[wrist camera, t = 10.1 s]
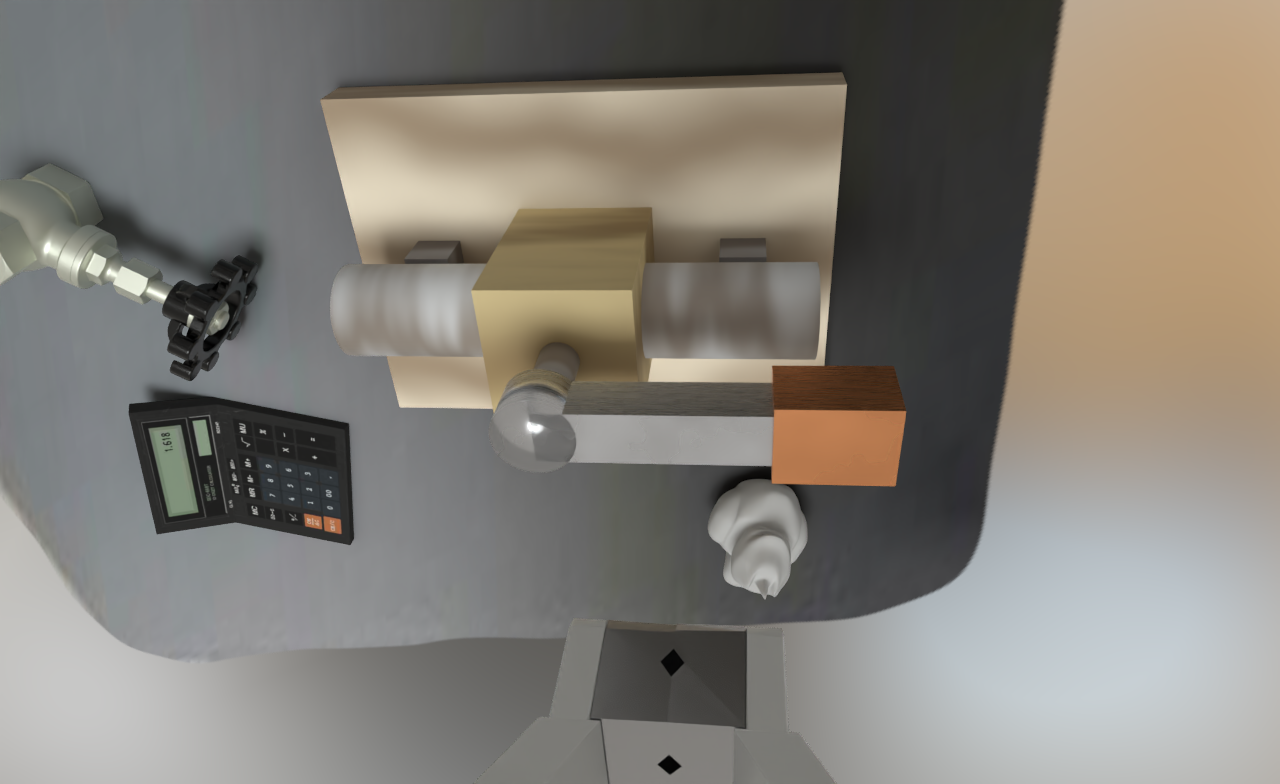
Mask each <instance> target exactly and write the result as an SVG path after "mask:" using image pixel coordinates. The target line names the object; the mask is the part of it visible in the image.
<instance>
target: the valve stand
mask: <svg viewBox="0 0 1280 784" xmlns="http://www.w3.org/2000/svg"><path fill="white" fill-rule="evenodd" d="M846 91H847V83H846V81H845V78H844V76H843V73H842V72H839V73H806V74H773V75H740V76H707V77H674V78H640V79H607V80H574V81H541V82H508V83H475V84H442V85H408V86H375V87H342V88H337V89H336V90H334V91H333V92H331V93H330V94H328V95H327V96H325V97H324V98H322V99H320V101H321V105H322V109H323V112H324V116H325V120H326V124H327V128H328V132H329V136H330V139H331V143H332V147H333V151H334V155H335V159H336V163H337V166H338V170H339V174H340V178H341V182H342V186H343V190H344V193H345V197H346V201H347V205H348V209H349V213H350V217H351V221H352V224H353V228H354V232H355V236H356V240H357V244H358V248H359V251H360V255H361V259H362V263H363V264H347V265H345V266H343V267H342V268H341V269H340V270H339V272H338V273H337V275H336V277H335V280H334V283H333V286H332V291H331V300H330V314H331V323H332V328H333V332H334V335H335V338H336V340H337V343H338V344H339V346H340V348H341V349H342V350H343V351H344V352H345V353H346V354H347V355H350V356H387V359H388V363H389V367H390V371H391V375H392V379H393V383H394V386H395V390H396V394H397V398H398V402H399V406H400V407H420V408H484V409H493V412H495V410H496V408H497V405H498V403H499V401H500V398H501V396H502V394H503V391H504V389H505V387H506V385H507V383H508V382H509V381H510V380H511V379H512V378H513V377H514V376H515V375H517V374H519V373H521V372H523V371H527V370H531V369H546V370H551V371H555V372H557V373H560V374H562V375H564V376H566V377H567V378H568V379H570V380H571V381H612V382H740V383H772V366H824V361H825V349H826V337H827V324H828V312H829V300H830V287H831V275H832V263H833V251H834V238H835V226H836V214H837V201H838V189H839V177H840V164H841V152H842V140H843V128H844V115H845V103H846Z"/></svg>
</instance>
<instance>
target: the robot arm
mask: <svg viewBox="0 0 1280 784" xmlns="http://www.w3.org/2000/svg"><path fill="white" fill-rule="evenodd" d="M788 723H789V722H788V702H787V682H786V661H785V641H784V633H783V630H782V629H781V628H760V627H747V628H745V626H725V625H695V624H677V625H668V624H654V623H641V622H627V621H613V620H595V619H578V618H574V619H573V621H572V623H571V625H570V627H569V630H568V634H567V639H566V643H565V648H564V652H563V657H562V661H561V666H560V670H559V675H558V679H557V684H556V688H555V693H554V697H553V702H552V707H551V711H550V715H549V717H538V718H537V719H536V721H534V722H533V723H532V724H531V725H530V726H529V727H528V728H527V729H526V730H525V731H524V732H523V734H522V735H521V736H520V737H519V738H518V739H517V740H516V741H515V742H514V743H513V744H512V745H511V746H510V747H509V748H508V749H507V750H506V751H505V752H504V753H503V754H502V755H501V756H500V757H499V758H498V759H497V760H496V761H495V762H494V763H493V764H492V765H491V766H490V767H489V768H488V769H487V770H486V771H485V772H484V773H483V774H482V775H481V776H480V777H479V778H478V779H477V780H476V781H475V782H474V783H473V784H837V783H836V782H835V780H834V779H833V777H832V776H831V775H830V773H829V772H828V771H827V769H826V768H825V766H824V765H823V764H822V762H821V761H820V760H819V758H818V757H817V756H816V754H815V753H814V751H813V750H812V749H811V747H810V746H809V745H808V743H807V742H806V740H805V739H804V738H803V737H802V735H801V734H800V733H797V732H789V724H788Z"/></svg>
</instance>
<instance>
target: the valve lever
mask: <svg viewBox="0 0 1280 784" xmlns="http://www.w3.org/2000/svg"><path fill="white" fill-rule="evenodd" d="M905 417H906V408H905V405H904V401H903V398H902V394H901V390H900V387H899V383H898V379H897V376H896V372H895V369H894V366H772V383H740V382H612V381H571V380H570V379H568V378H567V377H566V376H564V375H562V374H560V373H557V372H555V371H551V370H546V369H531V370H527V371H523V372H521V373H519V374H517V375H515V376H514V377H513V378H512V379H511V380H510V381H509V382H508V383H507V385H506V387H505V389H504V391H503V394H502V396H501V398H500V401H499V403H498V405H497V408H496V410H495V412H494V415H493V417H492V419H491V422H490V425H489V439H490V442H491V445H492V447H493V449H494V450H495V452H496V453H497V454H498V455H499V456H500V457H501V458H502V459H503V460H504V461H505V462H507V463H508V464H510V465H511V466H513V467H515V468H518V469H520V470H523V471H527V472H533V473H545V472H551V471H554V470H557V469H559V468H561V467H563V466H564V465H565V464H567V463H568V462H584V463H636V464H688V465H740V466H771V480H772V484H815V485H861V486H896V479H897V472H898V465H899V458H900V451H901V444H902V437H903V430H904V424H905Z"/></svg>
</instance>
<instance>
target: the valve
mask: <svg viewBox="0 0 1280 784" xmlns="http://www.w3.org/2000/svg"><path fill="white" fill-rule="evenodd" d="M102 220H103V216H102V213H101V211H100V208H99V206H98V203H97V201H96V198H95V196H94V194H93V191H92V189H91V186H90V184H89V183H88V182H87V181H85V180H83V179H81V178H79V177H77V176H75V175H73V174H71V173H69V172H67V171H65V170H63V169H61V168H59V167H57V166H55V165H52V164H50V163H49V164H47V165H45V166H43V167H41V168H39V169H37V170H35V171H33V172H31V173H29V174H27V175H26V176H25V177H23V178H22V179H7V180H1V181H0V286H1V285H3V284H4V283H6V282H7V281H9V280H11V279H12V278H14V277H15V276H16V275H18V274H19V273H20V272H22V271H33V270H38V269H42V268H45V267H47V266H49V267H52V268H54V269H56V270H57V275H58V277H59V278H60V279H61V280H63V281H65V282H67V283H70V284H72V285H74V286H76V287H78V288H80V289H88V288H90V287H92V286H94V285H95V284H96V283H97V284H99V285H101V286H102V285H105V284H107V283H109V282H110V281H111V282H113V285H114V287H115V289H116V292H117V293H119V294H121V295H123V296H125V297H127V298H129V299H131V300H134V301H136V302H138V303H140V304H142V305H143V304H145V303H147V302H149V301H150V300H151V299H153V300H155V301H157V302H159V303H161V304H163V308H162V314H163V315H164V316H165V317H167V318H169V319H171V321H170V323H169V326H168V337H169V340H170V342H169V344H168V348H167V351H168V352H169V353H171V354H173V355H176V356H178V357H180V358H182V359H184V360H185V362H184V363H183V364H182V363H180V362H178V361H175V360H174V361H173V362H172V364H171V367H170V372H171V373H173V374H175V375H177V376H179V377H181V378H184V379H186V380H188V381H192V380H193V379H194V378H195V377H196V376H197V374H198V373H199V371H200V369H203V370H205V371H210V370H211V369H212V368H213V367H214V366H215V364H216V362H217V360H218V358H219V353H218V349H219V348H220V346H221V344H222V343H223V342H224V340H225V339H227V340H233V339H234V338H235V337H236V335H237V334H238V332H239V330H240V327H241V322H240V321H238V320H237V318H238V316H239V314H240V311H241V309H242V308H243V306H244V305H248V304H250V303H251V301H252V300H253V298H254V296H255V294H256V291H257V288H256V286H254V285H252V284H250V282H251V281H252V279H253V278H254V276H255V274H256V272H257V269H258V265H257V264H256V263H254V262H252V261H250V260H248V259H246V258H244V257H242V256H240V255H238V256H236V257H235V258H234V259H233V261H232V262H231V263H230V262H227V261H225V260H223V259H221V260H219V261H218V262H217V263H216V265H215V266H214V268H213V270H212V272H211V275H212V276H214V277H216V278H218V279H220V281H219V282H218V283H217V284H210V283H209V284H201V285H199V286H195V285H193V284H191V283H189V282H187V281H184V280H182V281H179V282H178V283H177V284H176V285H174V287H173V286H171V285H169V284H167V283H165V282H163V281H162V279H163V276H162V273H161V271H160V270H159V269H157V268H155V267H153V266H151V265H149V264H147V263H145V262H142V261H140V260H138V259H136V258H132V259H131V260H130V261H128V262H125V261H123V257H122V254H121V253H120V251H119V250H117V241H116V238H115V236H114V235H112V234H110V233H108V232H106V231H104V230H102V229H100V228H98V227H96V226H95V225H96V224H98V223H99V222H100V221H102ZM224 301H225V302H224ZM226 302H227V303H226ZM184 326H186V327H188V328H189V329H188V332H187V335H186V336H184V335H182V330H183V328H184ZM205 334H208V335H209V336H208V337H207V338H206V339H205V340H204V337H205Z"/></svg>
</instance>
